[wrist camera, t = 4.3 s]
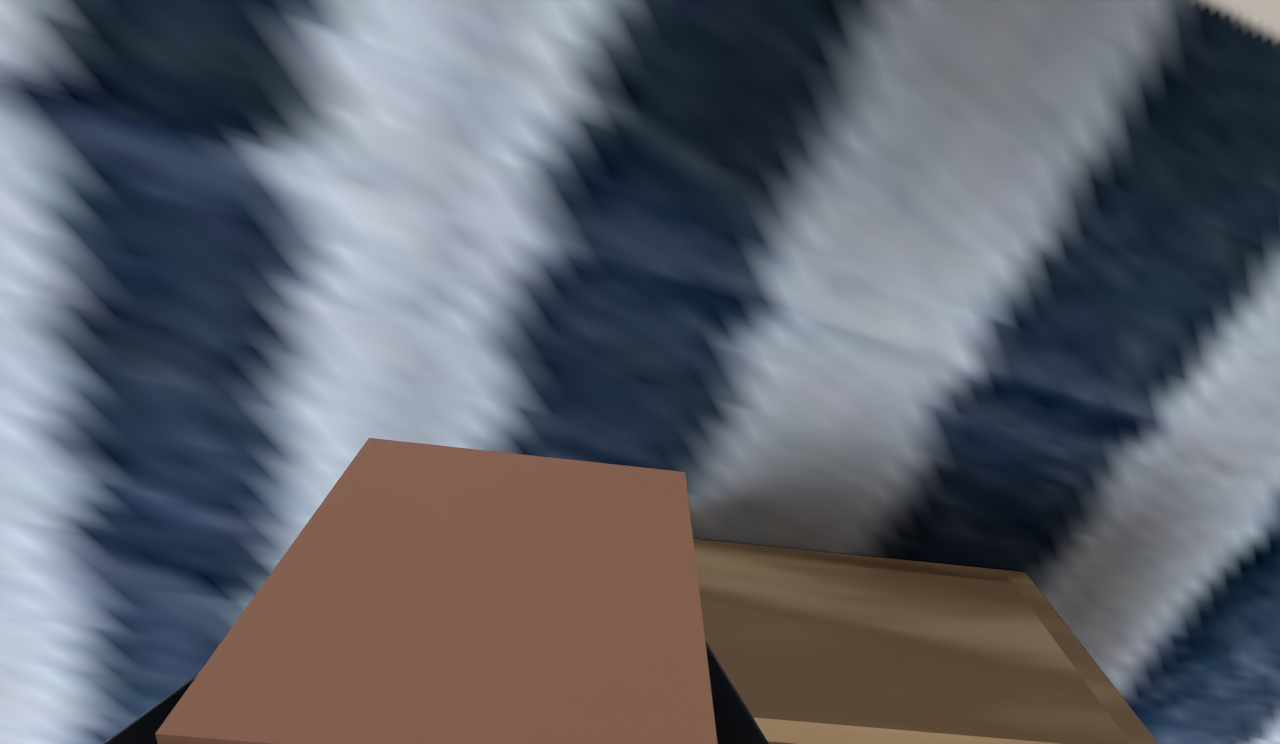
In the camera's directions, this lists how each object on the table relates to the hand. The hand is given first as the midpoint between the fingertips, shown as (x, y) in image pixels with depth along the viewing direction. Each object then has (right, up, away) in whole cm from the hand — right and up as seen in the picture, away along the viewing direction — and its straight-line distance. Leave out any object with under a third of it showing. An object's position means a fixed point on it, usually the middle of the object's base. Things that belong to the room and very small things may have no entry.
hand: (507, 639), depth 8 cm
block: (0, 0, +1) cm, 1 cm away
